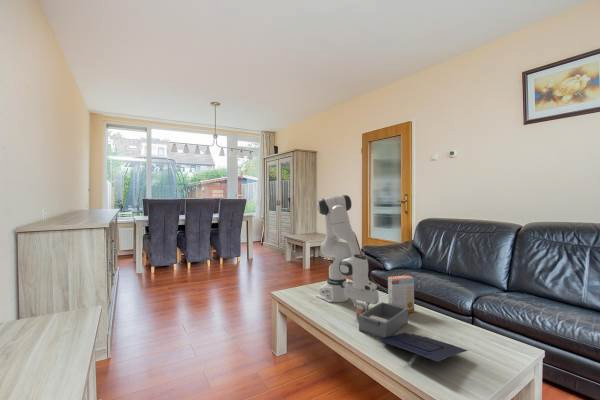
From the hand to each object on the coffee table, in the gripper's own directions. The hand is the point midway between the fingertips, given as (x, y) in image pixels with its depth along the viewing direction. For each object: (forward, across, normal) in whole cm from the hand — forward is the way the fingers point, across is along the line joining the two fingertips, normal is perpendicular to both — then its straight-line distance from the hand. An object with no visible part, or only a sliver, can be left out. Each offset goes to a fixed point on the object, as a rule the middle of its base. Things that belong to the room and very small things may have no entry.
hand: (361, 308), depth 161 cm
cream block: (+5, +14, -9) cm, 18 cm away
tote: (+6, +14, -2) cm, 16 cm away
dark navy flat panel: (+6, +37, -15) cm, 41 cm away
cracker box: (+7, +14, +24) cm, 28 cm away
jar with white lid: (+6, 0, 0) cm, 6 cm away
